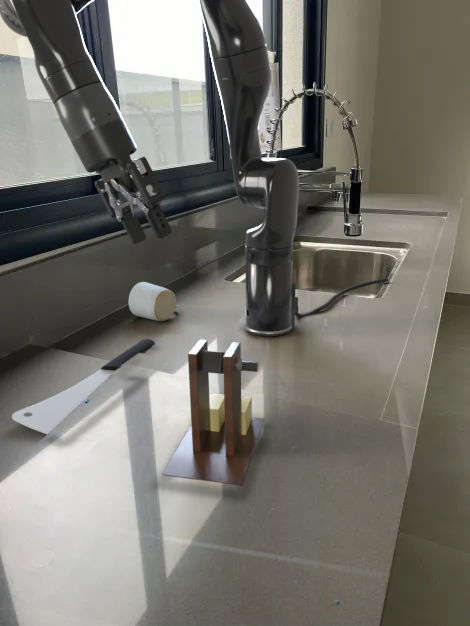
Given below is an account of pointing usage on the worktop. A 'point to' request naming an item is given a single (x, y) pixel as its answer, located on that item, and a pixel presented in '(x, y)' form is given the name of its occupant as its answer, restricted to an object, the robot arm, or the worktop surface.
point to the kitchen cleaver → (73, 394)
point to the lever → (215, 363)
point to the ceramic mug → (152, 302)
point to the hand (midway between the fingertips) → (152, 239)
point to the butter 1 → (216, 411)
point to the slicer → (200, 442)
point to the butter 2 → (246, 413)
